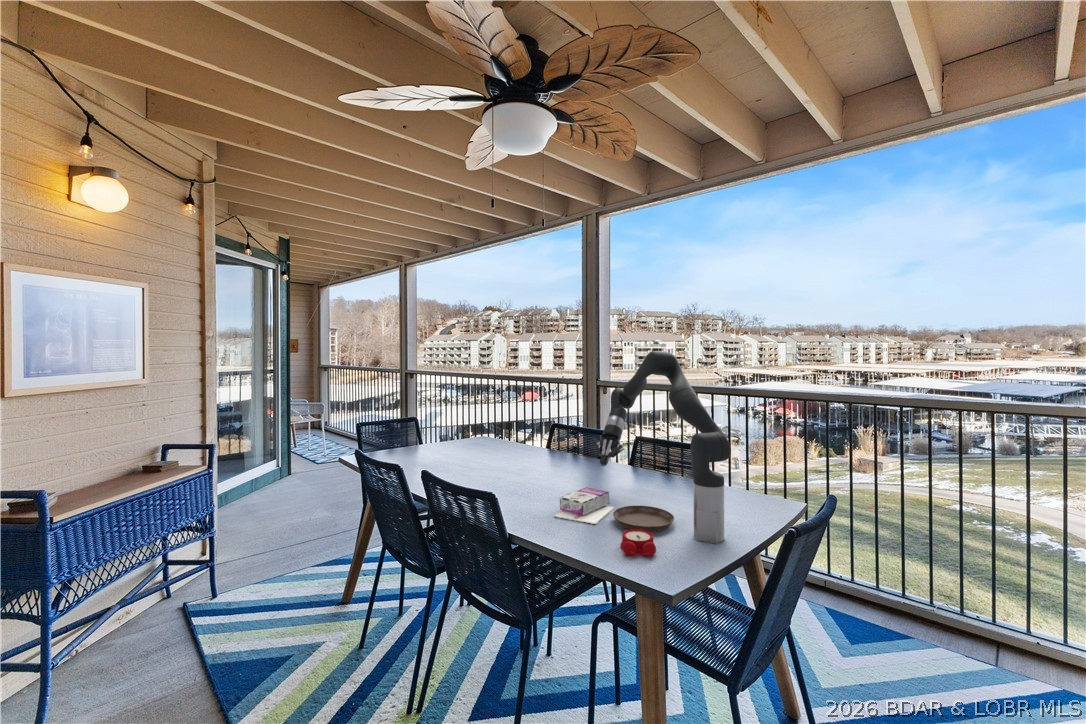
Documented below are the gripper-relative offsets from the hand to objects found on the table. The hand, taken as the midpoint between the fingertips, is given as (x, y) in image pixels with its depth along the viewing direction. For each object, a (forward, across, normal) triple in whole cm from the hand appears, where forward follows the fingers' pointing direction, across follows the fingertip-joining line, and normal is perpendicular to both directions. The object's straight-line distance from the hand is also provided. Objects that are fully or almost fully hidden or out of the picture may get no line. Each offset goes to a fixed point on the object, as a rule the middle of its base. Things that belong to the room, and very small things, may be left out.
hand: (602, 464), depth 185 cm
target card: (+21, -1, -1) cm, 21 cm away
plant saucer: (+22, +21, -1) cm, 30 cm away
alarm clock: (+37, +26, -16) cm, 48 cm away
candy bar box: (+11, 0, +5) cm, 12 cm away
